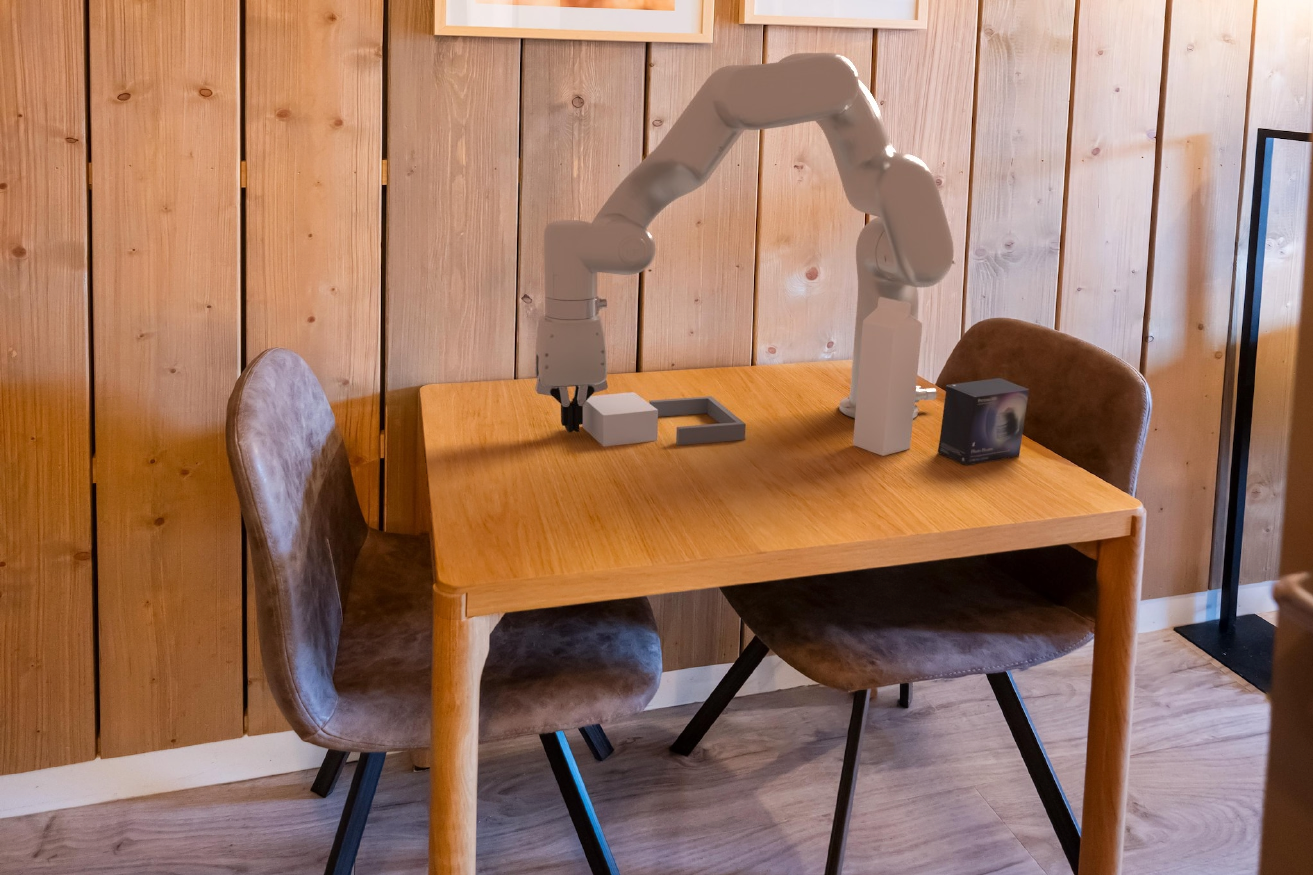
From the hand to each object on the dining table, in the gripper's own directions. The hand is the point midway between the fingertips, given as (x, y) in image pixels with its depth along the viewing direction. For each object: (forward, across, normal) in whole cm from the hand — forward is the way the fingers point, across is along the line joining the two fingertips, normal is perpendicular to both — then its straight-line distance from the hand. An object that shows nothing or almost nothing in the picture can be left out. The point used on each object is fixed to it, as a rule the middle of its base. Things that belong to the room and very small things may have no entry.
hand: (571, 429), depth 160 cm
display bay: (+1, -20, 0) cm, 20 cm away
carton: (+2, -7, 0) cm, 7 cm away
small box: (+1, -56, +22) cm, 60 cm away
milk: (+1, -43, +16) cm, 46 cm away
